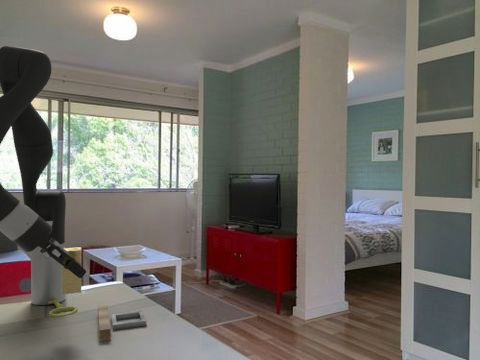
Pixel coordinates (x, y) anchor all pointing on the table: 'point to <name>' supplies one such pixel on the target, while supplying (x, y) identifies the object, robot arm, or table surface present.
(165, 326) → the table surface
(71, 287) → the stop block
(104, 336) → the brown square bar
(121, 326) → the keeper
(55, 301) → the key
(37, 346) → the table surface
